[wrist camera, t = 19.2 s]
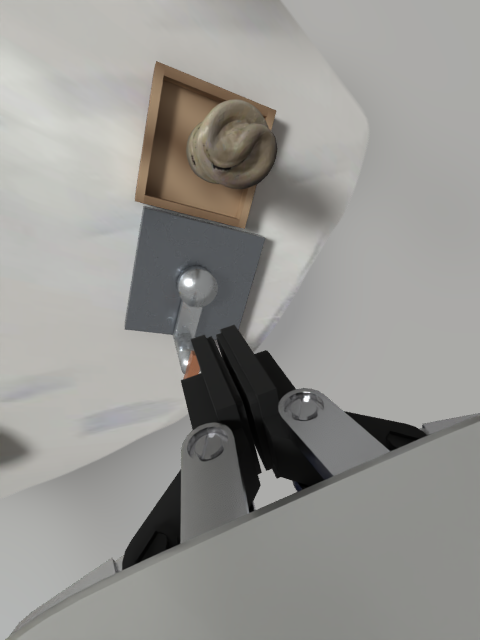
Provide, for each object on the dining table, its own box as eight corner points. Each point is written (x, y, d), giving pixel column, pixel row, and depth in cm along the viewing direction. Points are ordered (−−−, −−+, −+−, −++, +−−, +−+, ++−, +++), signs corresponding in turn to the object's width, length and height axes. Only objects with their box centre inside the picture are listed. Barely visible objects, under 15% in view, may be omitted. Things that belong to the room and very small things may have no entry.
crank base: (143, 205, 36) (144, 208, 34) (259, 234, 41) (265, 238, 39) (123, 329, 41) (123, 337, 39) (229, 341, 46) (233, 349, 44)
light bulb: (164, 156, 34) (187, 151, 21) (195, 108, 33) (239, 71, 20) (208, 192, 36) (252, 207, 23) (237, 148, 35) (301, 139, 23)
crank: (181, 262, 37) (193, 285, 30) (218, 270, 39) (238, 293, 32) (161, 348, 41) (168, 387, 34) (195, 352, 43) (208, 390, 36)
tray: (154, 68, 31) (156, 61, 29) (267, 113, 36) (276, 110, 34) (134, 198, 35) (135, 201, 33) (238, 225, 40) (244, 228, 38)
